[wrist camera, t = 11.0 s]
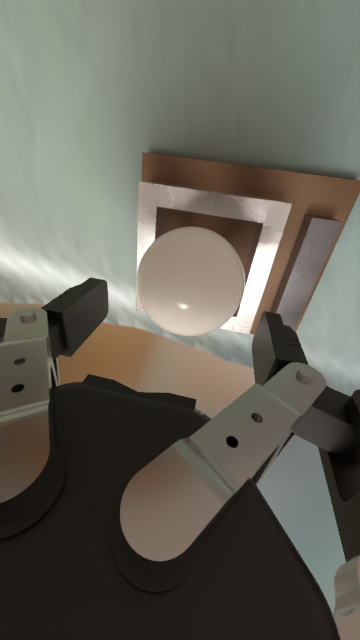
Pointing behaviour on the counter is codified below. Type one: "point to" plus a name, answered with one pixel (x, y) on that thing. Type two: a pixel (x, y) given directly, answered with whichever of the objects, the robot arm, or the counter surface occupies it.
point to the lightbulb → (190, 281)
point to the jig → (250, 225)
